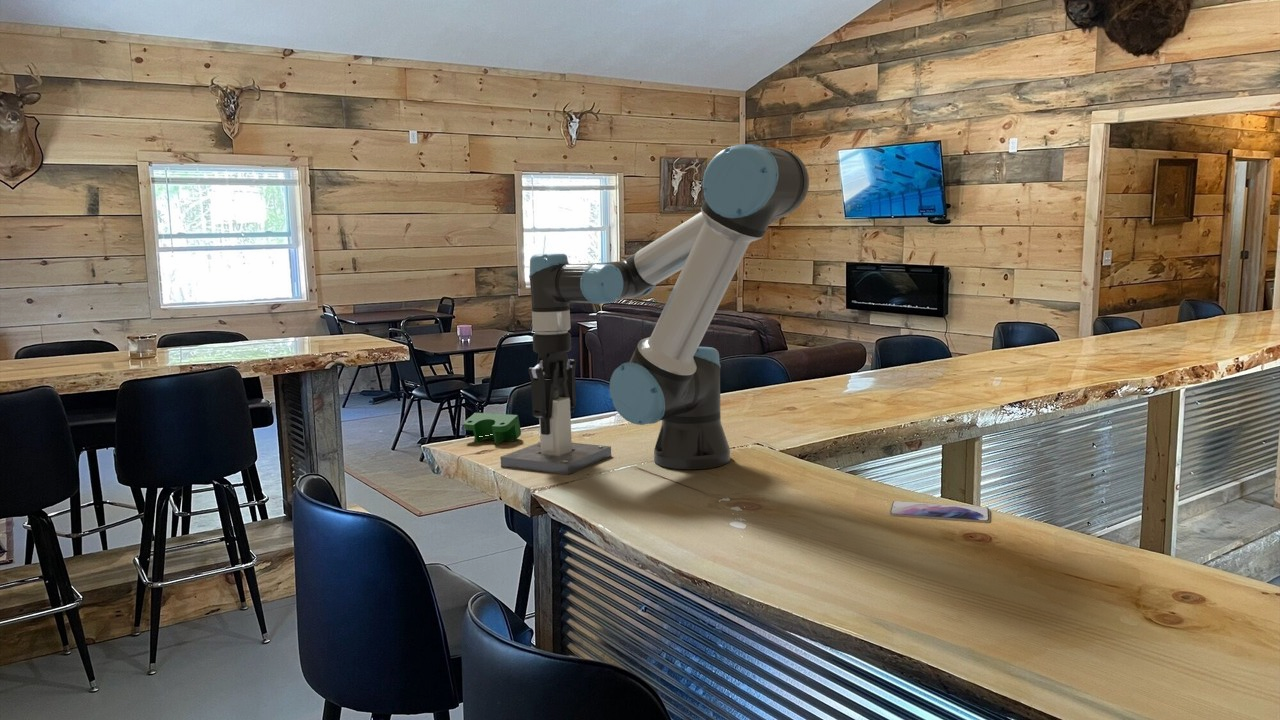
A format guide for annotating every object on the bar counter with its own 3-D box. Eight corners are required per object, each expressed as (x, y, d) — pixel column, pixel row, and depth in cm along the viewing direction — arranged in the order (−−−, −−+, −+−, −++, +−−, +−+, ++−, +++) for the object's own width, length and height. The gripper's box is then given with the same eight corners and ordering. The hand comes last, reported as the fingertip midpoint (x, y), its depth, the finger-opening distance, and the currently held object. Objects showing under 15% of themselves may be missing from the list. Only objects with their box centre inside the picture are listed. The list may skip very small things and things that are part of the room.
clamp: (476, 460, 208) (455, 426, 206) (489, 448, 213) (469, 415, 211) (515, 444, 202) (494, 409, 200) (528, 432, 207) (507, 398, 205)
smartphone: (990, 521, 141) (888, 513, 146) (990, 526, 141) (888, 518, 146) (989, 506, 147) (892, 500, 152) (989, 511, 147) (892, 504, 152)
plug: (572, 451, 188) (569, 388, 186) (559, 456, 184) (556, 391, 182) (553, 449, 190) (550, 386, 188) (540, 454, 186) (537, 390, 184)
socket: (611, 456, 190) (610, 443, 190) (567, 474, 176) (567, 460, 176) (547, 449, 198) (546, 436, 197) (500, 466, 184) (500, 453, 184)
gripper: (560, 327, 193) (565, 436, 196) (509, 336, 178) (515, 455, 181) (591, 327, 189) (595, 439, 192) (541, 337, 174) (546, 458, 177)
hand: (556, 446), depth 187 cm, fingers closed on plug, 4 cm apart
